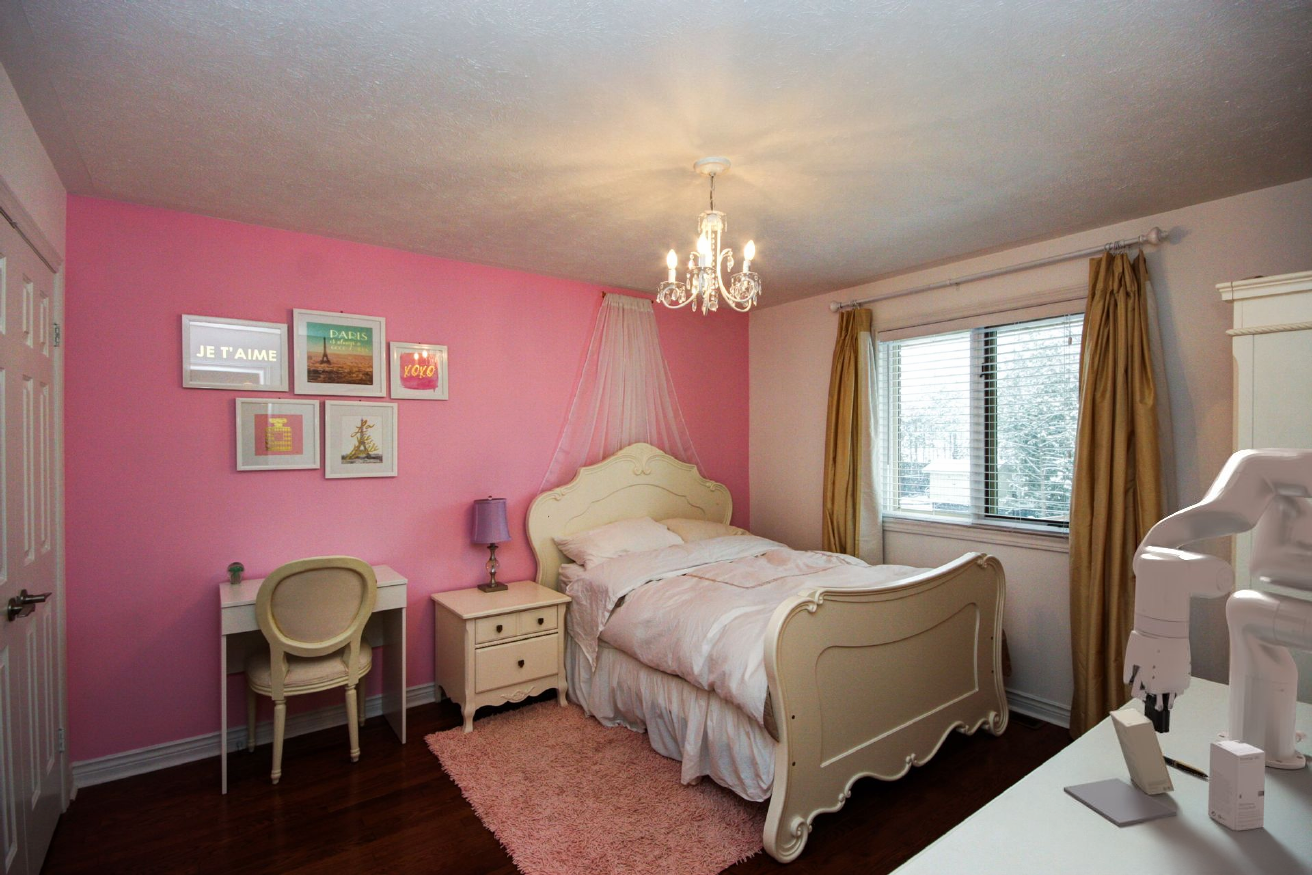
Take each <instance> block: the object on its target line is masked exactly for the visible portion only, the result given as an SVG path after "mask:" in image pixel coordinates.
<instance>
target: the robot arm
mask: <svg viewBox="0 0 1312 875" xmlns="http://www.w3.org/2000/svg"><path fill="white" fill-rule="evenodd" d="M1308 499H1312V448H1299V447H1298V448H1297V447H1266V448H1265V447H1263V448H1262V447H1261V448H1249V449H1247V448H1246V449H1243V450H1239V451H1237V452H1234V453H1233V454H1232V455H1231V456H1230V457H1228V459H1227V461H1226V462H1225V464H1224V465H1223V466H1222V468H1221V470H1220V471H1219V473H1218V474H1217V475H1216V476H1215V479H1214V481H1213V482H1212V484H1211V486H1209V488H1208V490H1207V491H1206V493H1205V494H1204V496H1203V497H1202V499H1201V500H1200V501H1199V502H1198V503H1197V504H1196V503H1195V504H1193V505H1191V506H1189V507H1186V508H1183V509H1181V510H1179V511H1177V512H1175V513H1173V514H1171V515H1169V516H1167V517H1165V518H1164V519H1163V518H1162V520H1160V521H1158V522H1157V523H1156V524H1155V525H1153V526H1152V527H1151V528H1150V530H1148V531H1147V533H1146V535H1145V536H1144V537H1143V540H1142V541H1141V543H1139V546H1138V547H1137V549H1136V551H1135V553H1134V556H1133V560H1132V571H1133V573H1134V575H1135V590H1134V591H1135V592H1134V596H1135V597H1134V614H1133V615H1134V616H1133V617H1134V620H1133V630H1131V632H1130V633H1129V636H1128V641H1127V645H1126V649H1125V650H1126V651H1125V657H1124V665H1123V666H1124V667H1123V683H1124V684H1125V685H1126V686H1130V687H1132V688H1131V689H1132V690H1131V692H1130V693H1131V696H1132V698H1135V699H1137V700H1141V703H1142V705H1144V710H1143V712H1144V714H1143V715H1145V716H1146V717H1147V718H1148V719H1150V720H1151V721H1152V723H1153V726H1154V729H1155V733H1156V732H1157V733H1158V734H1164V733H1170V724H1171V723H1170V720H1171V710H1173V708H1174V703H1175V702H1174V701H1175V700H1176V698H1178V697H1180V696H1182V695H1184V693H1185V691H1186V690H1188V689H1189V688H1190V684H1191V677H1192V654H1191V644H1190V639H1189V638H1190V636H1189V635H1190V614H1191V598H1202V599H1203V598H1204V599H1216V598H1220V597H1223V596H1225V595H1226V594H1228V593H1229V592H1230V591H1231V590H1232V589H1233V588H1234V585H1235V582H1236V574H1235V571H1234V569H1233V566H1231V564H1230V563H1228V562H1227V561H1226V560H1224V559H1223V558H1220V557H1218V556H1215V555H1210V554H1206V553H1200V552H1193V551H1190V550H1183V549H1179V548H1181V547H1182V546H1185V545H1188V544H1190V543H1193V542H1197V541H1200V540H1208V539H1215V538H1222V537H1227V536H1231V535H1232V536H1233V535H1239V534H1242V533H1246V532H1248V531H1249V532H1250V531H1251V530H1253V529H1254V528H1255V527H1256V525H1257V528H1256V532H1255V535H1254V539H1253V544H1252V548H1251V550H1250V551H1251V552H1250V557H1249V562H1248V571H1249V575H1250V576H1251V577H1252V579H1254V580H1256V581H1257V582H1259V583H1261V584H1264V585H1267V586H1271V587H1276V588H1280V589H1285V590H1288V591H1289V590H1291V591H1294V592H1295V591H1296V592H1300V593H1305V594H1311V595H1312V503H1310V501H1309V500H1308ZM1225 604H1226V605H1225V617H1226V622H1227V626H1228V632H1229V633H1228V634H1229V643H1230V644H1229V645H1230V657H1229V658H1230V662H1229V667H1230V668H1229V680H1228V681H1229V684H1228V707H1227V708H1228V710H1227V711H1228V712H1227V730H1224V731H1220V732H1219V733H1217V734H1216V742H1221V741H1236V740H1239V741H1241V742H1244V743H1246V744H1248V745H1251V746H1253V747H1255V748H1258V749H1260V750H1262V751H1264V752H1265V767H1266V766H1267V767H1269V768H1270V767H1271V768H1275V769H1276V768H1277V769H1284V770H1298V769H1302V768H1304V767H1305V766H1306V757H1305V756H1304V755H1303V754H1302V753H1301V752H1300V751H1299V750H1297V749H1296V744H1297V743H1299V742H1300V743H1301V742H1304V741H1305V742H1306V740H1307V739H1308V737H1307V734H1306V732H1304V731H1302V730H1297V729H1296V719H1297V716H1296V715H1297V700H1298V699H1297V698H1298V697H1297V696H1298V695H1297V694H1298V681H1299V672H1298V667H1297V664H1296V662H1295V661H1294V658H1293V657H1292V655H1291V653H1290V652H1289V651H1288V649H1287V648H1289V649H1292V650H1296V651H1300V652H1304V653H1308V654H1310V655H1311V654H1312V600H1310V599H1305V598H1304V599H1303V598H1300V597H1296V596H1291V595H1287V594H1282V593H1279V592H1278V593H1277V592H1272V591H1266V590H1260V589H1250V588H1249V589H1241V590H1237V591H1235V592H1233V593H1231V594H1230V596H1229V597H1228V599H1227V600H1226V603H1225Z"/></svg>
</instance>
